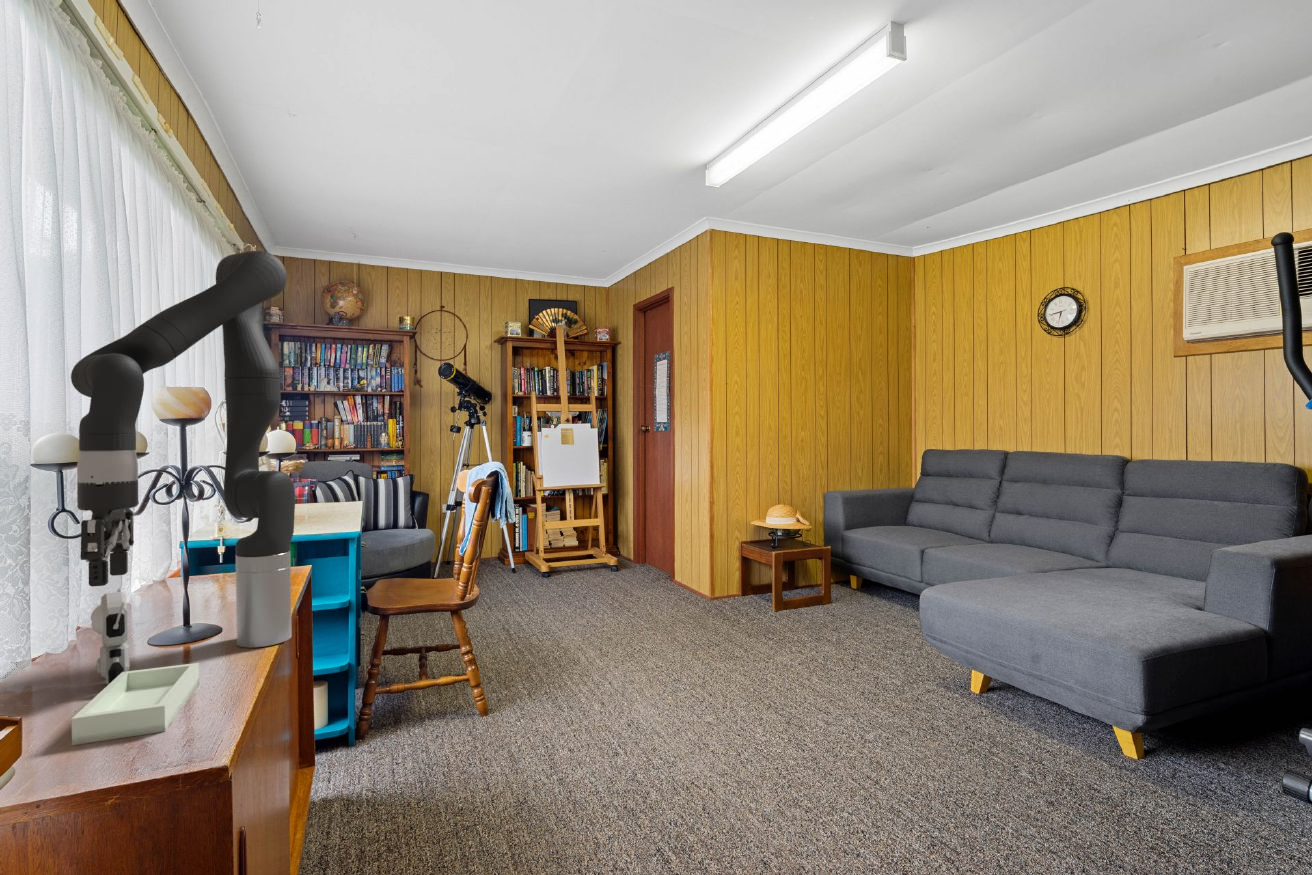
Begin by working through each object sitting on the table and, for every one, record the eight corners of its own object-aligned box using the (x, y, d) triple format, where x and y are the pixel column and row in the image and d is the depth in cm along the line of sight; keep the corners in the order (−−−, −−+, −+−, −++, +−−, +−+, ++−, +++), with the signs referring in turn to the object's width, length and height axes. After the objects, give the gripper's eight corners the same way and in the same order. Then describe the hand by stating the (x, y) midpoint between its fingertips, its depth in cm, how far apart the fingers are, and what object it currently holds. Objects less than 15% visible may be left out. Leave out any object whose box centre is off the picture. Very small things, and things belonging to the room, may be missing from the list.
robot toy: (91, 679, 108) (89, 588, 108) (126, 672, 112) (125, 584, 111) (93, 701, 99) (91, 602, 99) (131, 693, 102) (130, 597, 102)
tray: (122, 694, 102) (122, 671, 102) (199, 684, 106) (198, 662, 106) (71, 745, 85) (71, 718, 85) (165, 731, 89) (164, 705, 89)
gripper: (96, 477, 110) (97, 573, 110) (58, 482, 97) (59, 592, 97) (151, 476, 113) (151, 570, 113) (121, 480, 100) (121, 587, 100)
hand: (109, 580), depth 105 cm, fingers open, 8 cm apart
